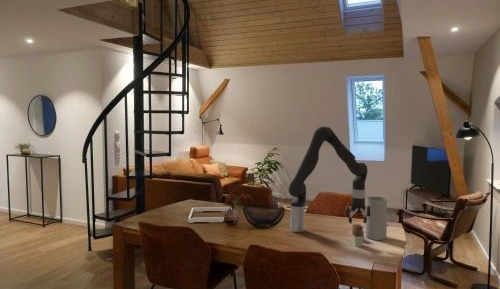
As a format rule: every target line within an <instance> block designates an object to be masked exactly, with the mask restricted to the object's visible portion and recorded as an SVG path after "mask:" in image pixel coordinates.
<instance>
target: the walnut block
mask: <svg viewBox="0 0 500 289" xmlns="http://www.w3.org/2000/svg"><path fill="white" fill-rule="evenodd" d="M363 229H364V226H363V225H361V224H359V223H356V224H353V223H352V236H353V235H354V236H355V237H362V236H363V231H364V230H363Z"/></svg>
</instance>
